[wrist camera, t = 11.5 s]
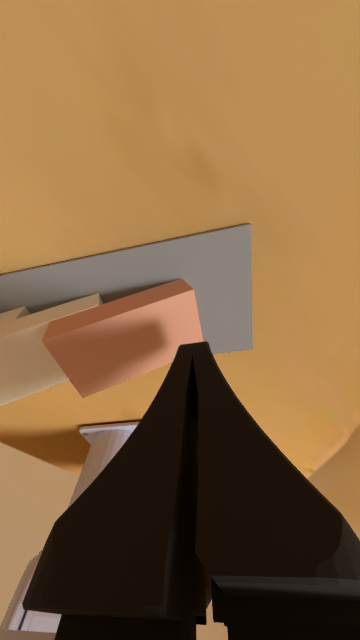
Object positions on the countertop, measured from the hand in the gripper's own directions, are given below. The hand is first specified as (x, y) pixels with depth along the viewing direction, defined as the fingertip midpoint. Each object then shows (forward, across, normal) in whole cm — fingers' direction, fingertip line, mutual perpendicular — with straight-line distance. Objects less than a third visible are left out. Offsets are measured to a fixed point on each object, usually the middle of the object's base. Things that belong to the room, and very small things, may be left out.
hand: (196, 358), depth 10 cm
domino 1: (+4, +6, 0) cm, 7 cm away
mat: (+5, +10, 0) cm, 11 cm away
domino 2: (+4, 0, 0) cm, 4 cm away
